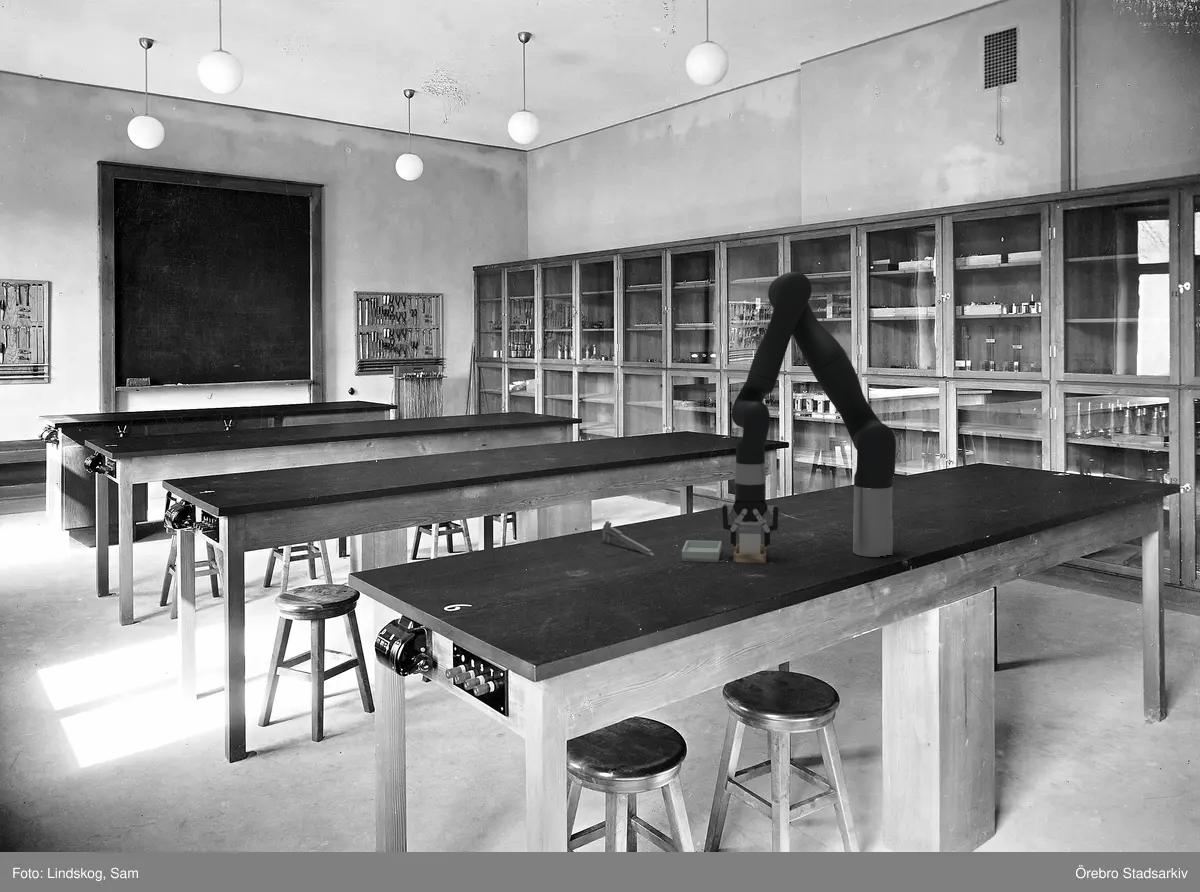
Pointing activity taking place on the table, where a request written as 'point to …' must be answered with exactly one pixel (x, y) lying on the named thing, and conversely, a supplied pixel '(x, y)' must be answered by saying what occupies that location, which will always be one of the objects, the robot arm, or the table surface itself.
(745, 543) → the gray rectangular box
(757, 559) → the holder
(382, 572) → the table surface
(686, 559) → the tray
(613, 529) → the caliper
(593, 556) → the table surface
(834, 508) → the table surface
